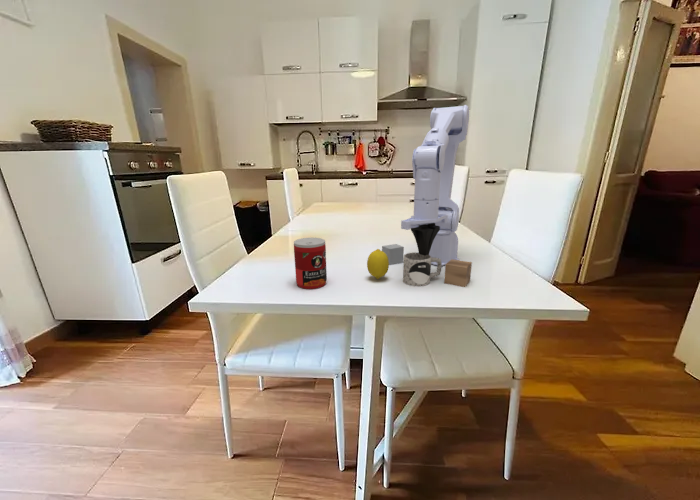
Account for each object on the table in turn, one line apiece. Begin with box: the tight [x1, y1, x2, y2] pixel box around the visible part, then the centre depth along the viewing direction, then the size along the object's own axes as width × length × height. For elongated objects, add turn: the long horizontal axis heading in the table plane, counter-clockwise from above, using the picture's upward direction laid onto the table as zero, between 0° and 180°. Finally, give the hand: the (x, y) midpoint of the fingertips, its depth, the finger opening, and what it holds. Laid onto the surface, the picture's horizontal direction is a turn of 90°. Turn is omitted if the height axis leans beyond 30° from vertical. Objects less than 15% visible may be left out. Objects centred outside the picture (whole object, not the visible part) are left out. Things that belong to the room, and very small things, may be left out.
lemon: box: [366, 248, 390, 280], centre depth 80 cm, size 6×6×8 cm
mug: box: [402, 252, 442, 287], centre depth 79 cm, size 10×7×7 cm
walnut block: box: [444, 259, 473, 288], centre depth 78 cm, size 5×5×5 cm
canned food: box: [293, 237, 328, 290], centre depth 77 cm, size 8×8×11 cm
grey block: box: [381, 243, 405, 266], centre depth 94 cm, size 5×4×5 cm
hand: (423, 254), depth 78 cm, fingers closed
